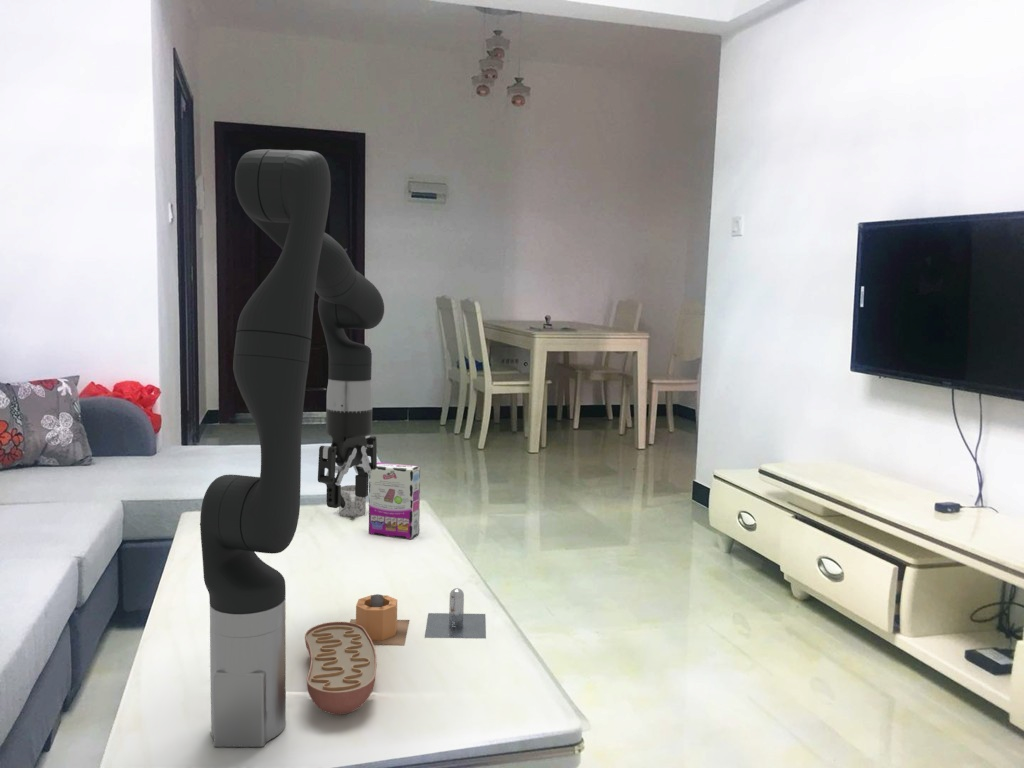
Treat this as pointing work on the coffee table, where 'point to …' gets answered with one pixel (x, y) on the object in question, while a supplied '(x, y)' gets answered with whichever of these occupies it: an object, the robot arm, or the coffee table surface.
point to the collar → (377, 617)
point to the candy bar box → (394, 500)
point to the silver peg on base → (456, 621)
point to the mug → (351, 503)
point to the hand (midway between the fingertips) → (348, 501)
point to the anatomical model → (340, 666)
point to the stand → (401, 626)
